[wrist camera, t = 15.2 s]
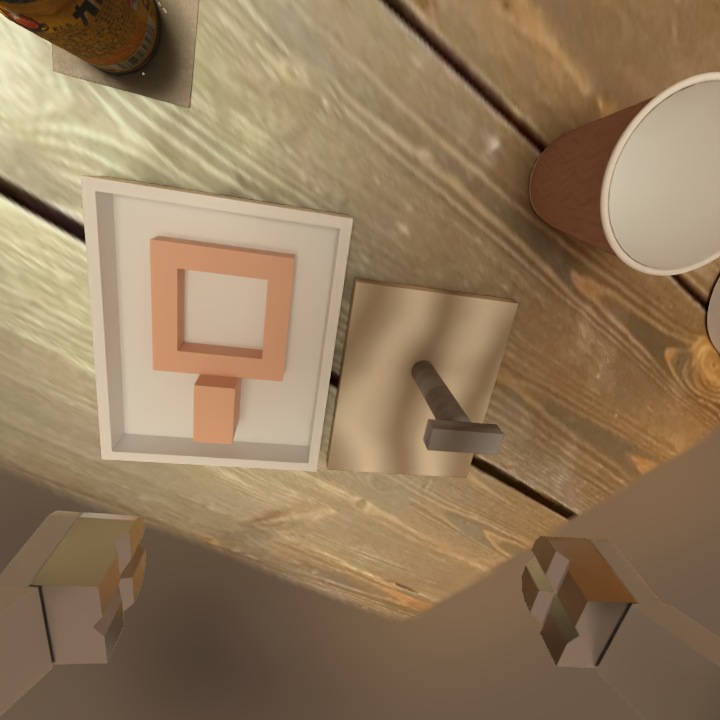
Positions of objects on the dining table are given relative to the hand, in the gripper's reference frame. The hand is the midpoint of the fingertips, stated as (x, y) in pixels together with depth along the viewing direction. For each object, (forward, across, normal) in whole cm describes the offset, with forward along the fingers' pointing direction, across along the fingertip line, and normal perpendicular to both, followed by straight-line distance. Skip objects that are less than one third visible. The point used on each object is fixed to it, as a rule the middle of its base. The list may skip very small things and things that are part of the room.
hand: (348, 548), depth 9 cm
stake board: (+29, -9, +9) cm, 32 cm away
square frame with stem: (+27, +8, +6) cm, 29 cm away
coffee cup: (+29, -18, -10) cm, 36 cm away
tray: (+28, +8, +6) cm, 30 cm away
